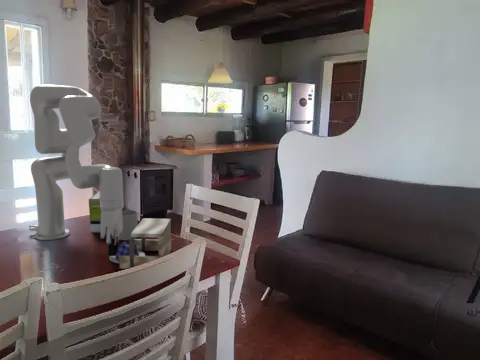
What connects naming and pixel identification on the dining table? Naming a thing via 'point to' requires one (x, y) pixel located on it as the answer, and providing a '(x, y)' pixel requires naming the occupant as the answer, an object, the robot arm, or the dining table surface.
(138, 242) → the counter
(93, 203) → the tea box
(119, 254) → the pudding
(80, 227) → the dining table surface
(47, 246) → the dining table surface
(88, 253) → the dining table surface
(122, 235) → the cup
